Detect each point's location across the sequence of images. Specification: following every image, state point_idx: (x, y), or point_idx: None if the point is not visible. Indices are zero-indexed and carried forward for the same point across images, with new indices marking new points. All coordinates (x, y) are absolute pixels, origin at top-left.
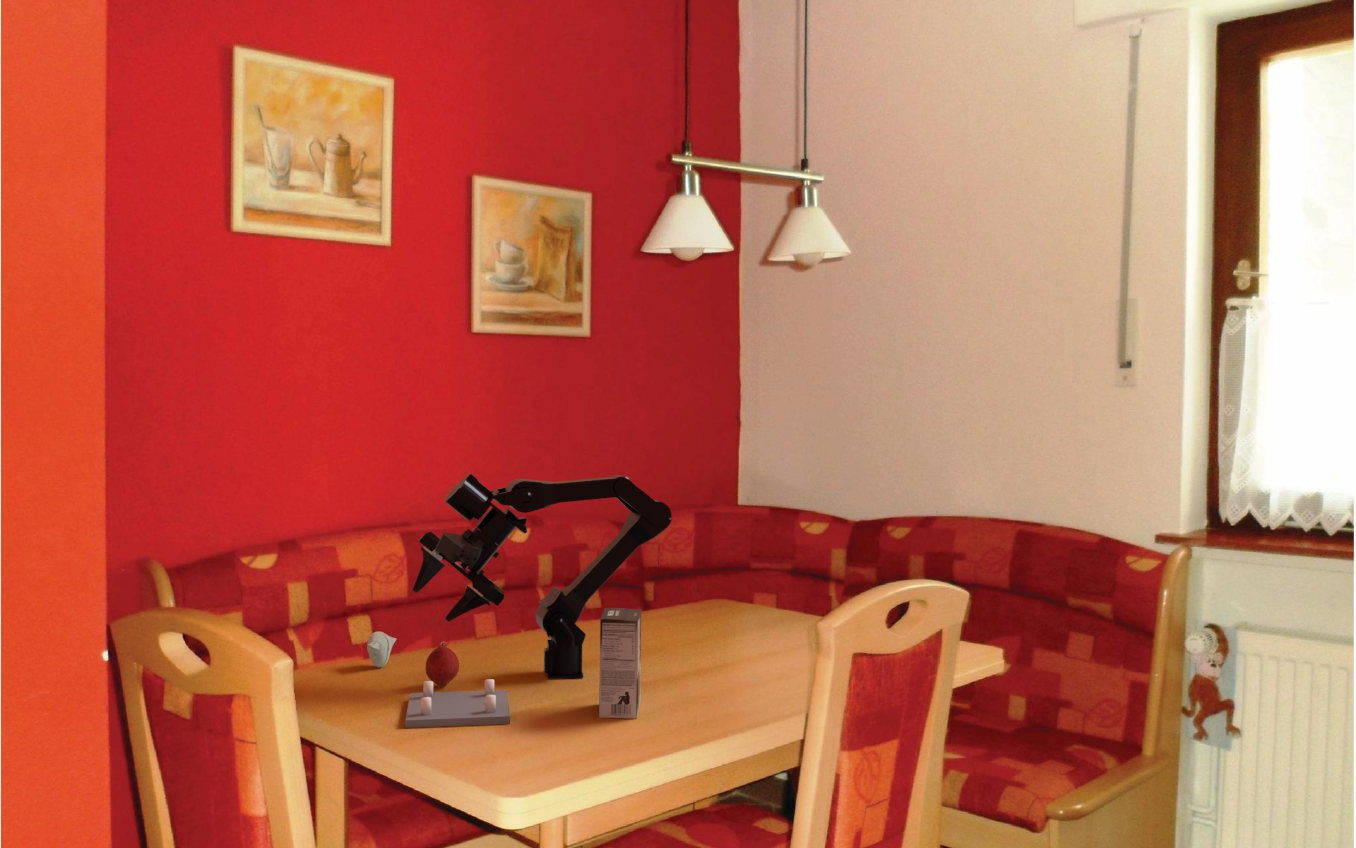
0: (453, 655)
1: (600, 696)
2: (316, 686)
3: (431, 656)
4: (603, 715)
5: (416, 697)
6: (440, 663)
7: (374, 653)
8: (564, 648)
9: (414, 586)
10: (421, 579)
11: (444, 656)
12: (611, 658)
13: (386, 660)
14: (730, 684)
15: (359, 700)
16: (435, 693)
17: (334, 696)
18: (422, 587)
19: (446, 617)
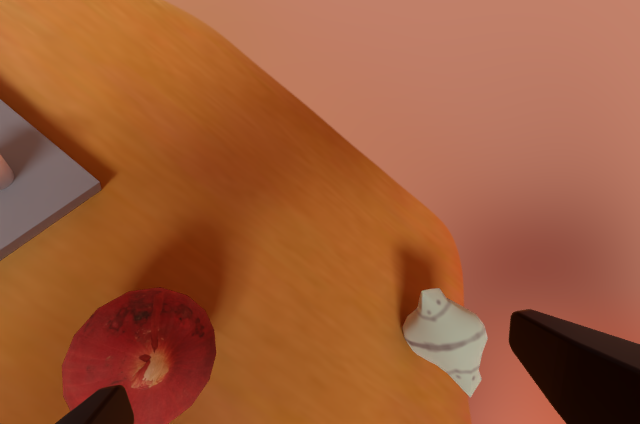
0: (78, 393)
1: None
2: (356, 165)
3: (161, 301)
4: None
5: (33, 155)
6: (99, 312)
7: (418, 304)
8: None
9: (554, 319)
10: (634, 379)
11: (95, 337)
12: None
13: (410, 344)
14: None
15: (215, 131)
16: (8, 224)
17: (279, 131)
18: (556, 404)
19: (104, 394)
